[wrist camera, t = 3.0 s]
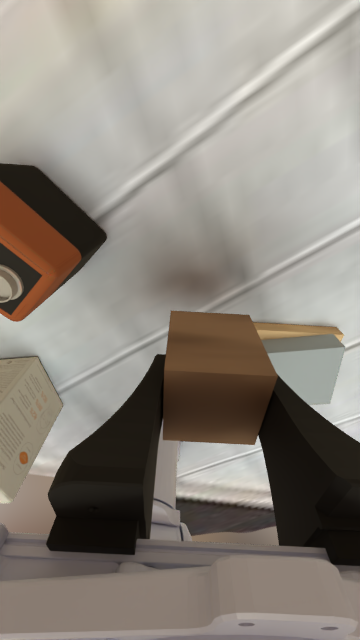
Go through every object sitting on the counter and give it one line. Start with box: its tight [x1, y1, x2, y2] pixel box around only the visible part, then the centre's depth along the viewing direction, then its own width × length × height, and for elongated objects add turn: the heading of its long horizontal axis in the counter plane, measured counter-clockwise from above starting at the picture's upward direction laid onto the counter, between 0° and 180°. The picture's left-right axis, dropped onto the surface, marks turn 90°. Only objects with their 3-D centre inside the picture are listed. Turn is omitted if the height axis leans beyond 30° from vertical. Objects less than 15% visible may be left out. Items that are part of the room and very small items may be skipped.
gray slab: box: [261, 334, 345, 405], centre depth 23 cm, size 7×7×2 cm
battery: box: [0, 163, 106, 322], centre depth 15 cm, size 4×7×10 cm, turn 44°
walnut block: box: [163, 311, 278, 445], centre depth 13 cm, size 4×4×5 cm
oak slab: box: [253, 322, 344, 342], centre depth 25 cm, size 8×8×2 cm
